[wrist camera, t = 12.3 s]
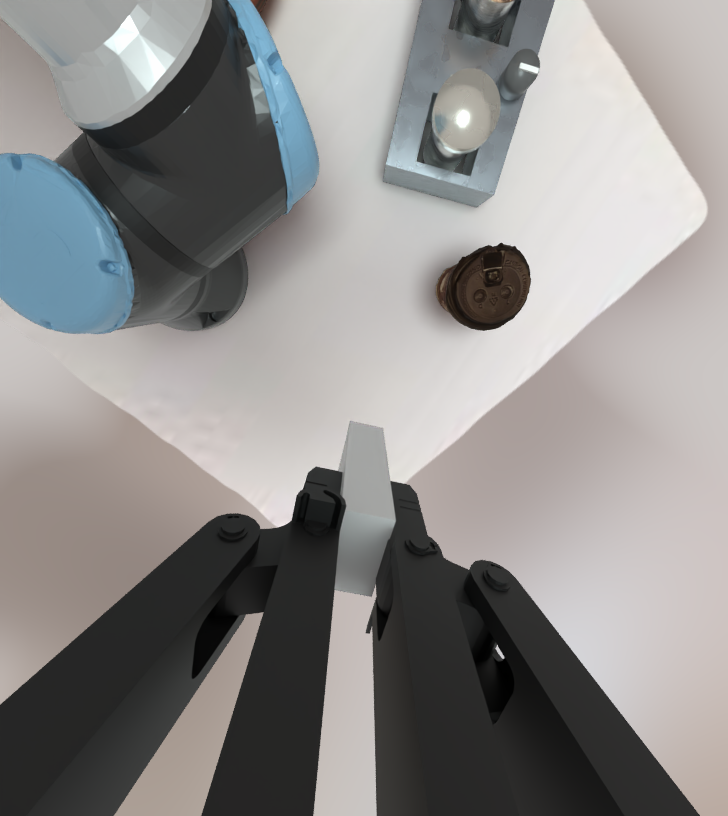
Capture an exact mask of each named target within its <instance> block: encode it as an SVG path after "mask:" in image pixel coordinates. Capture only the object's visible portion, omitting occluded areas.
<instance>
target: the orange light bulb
mask: <svg viewBox="0 0 728 816" xmlns="http://www.w3.org/2000/svg"><path fill="white" fill-rule="evenodd" d="M514 1H515V0H463V2H462V5H461V7H460V10H459V13H458V16H457V19H456V22H455V25H454V29H453V30H454V31H458V32H461V33H464V34H467V35H470V36H474V37H477V38H480V39H483V40H486V41H489V42H493V41H494V39H495V37H496V35H497V33H498V32H499V30H500V28H501V26H502V24H503V22H504V20H505V18H506V16H507V14H508V12H509V10H510V8H511V7H512V5H513V3H514Z"/></svg>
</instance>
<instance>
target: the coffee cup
mask: <svg viewBox="0 0 728 816" xmlns="http://www.w3.org/2000/svg"><path fill="white" fill-rule="evenodd" d="M530 284H531V278H530V269H529V265H528V264H527V262H526V259H525V258H524V256H523V255H522V253H521V252H520V251H519V250H517V248H516V247H515V246H513V247H512V246H510V245H504V244H503V243H500V244H499V245H498V246H494V247H492V246H490V245H488V246H485V247H482V248H479V249H478V250H476V251H474V252H473V253H471V254H470V255H468V256H466V257H462V258H461V260H460V261H459V263H458V264H456V265H454V266H452V267H450V268H447V269H446V270H444V272H443V274H442V275H441V277H440V278H439V279H438V283H437V285H436V296H437V298H438V300H439V302H440V304H441V306H442V307H443V308H444V309H445V310H446V311H448V312H449V313H451V315H452V316H453V317H454V318H455V319H456V320H457V321H458V322H459V323H461V324H463V325H465V326H467V327H469V328H471V329H476V330H483V331H485V330H492V329H496V328H499V327H501V326H502V325H504V324H505V323H507V322H508V321H510V320H511V319H513V318H514V317H515V316H516V315H517V313H518V312H519V311H520V310H521V308H522V307H523V305H524V304H525V302H526V299H527V295H528V293H529V288H530Z"/></svg>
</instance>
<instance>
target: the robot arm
mask: <svg viewBox="0 0 728 816" xmlns="http://www.w3.org/2000/svg"><path fill="white" fill-rule="evenodd" d="M0 18H1V19H2V20H3V21H5V22H6V23H7V24H8V25H9V26H10V27H11V28H12V29H13V30H14V31H15V32H16V33H17V34H18V35H19V36H20V37H21V38H22V39H23V40H24V41H25V42H26V43H27V44H29V45H30V46H31V47H32V48H33V49H34V50H35V51H36V52H37V53H38V54H39V55H40V56H41V57H42V58H43V59H44V60H45V61H46V62H47V64H48V66H49V68H50V70H51V72H52V76H53V79H54V82H55V86H56V89H57V92H58V95H59V99H60V103H61V106H62V109H63V111H64V113H65V114H66V115H67V116H68V117H69V118H70V119H71V120H72V121H73V122H74V124H76V125H77V126H78V127H79V128H80V129H81V130H83V131H84V133H82V134H81V135H80V136H79V137H78V138H77V139H76V140H75V141H74V142H73V143H72V144H71V145H70V146H69V147H68V148H67V149H66V150H65V151H64V152H63V153H62V154H61V155H60V156H59V157H58V158H57V159H56V160H54V161H52V160H50V159H48V158H45V157H43V156H40V155H36V154H30V153H29V154H14V153H4V154H0V298H1V299H2V300H3V301H4V302H5V303H6V304H8V305H9V306H10V307H11V308H12V309H14V310H15V311H16V312H18V313H19V314H20V315H22V316H23V317H25V318H27V319H28V320H30V321H32V322H34V323H36V324H38V325H40V326H43V327H45V328H47V329H52V330H55V331H60V332H64V333H72V334H86V333H91V334H105V333H109V332H112V331H114V330H119V329H125V328H130V327H136V326H142V325H148V324H154V323H162V324H164V325H166V326H169V327H172V328H175V329H179V330H186V331H198V330H204V329H208V328H212V327H215V326H218V325H220V324H222V323H224V322H225V321H227V320H228V319H230V318H231V317H232V316H233V315H234V314H235V313H236V311H237V310H238V309H239V307H240V306H241V304H242V302H243V300H244V297H245V294H246V290H247V284H248V269H247V263H246V259H245V255H244V253H243V250H242V248H241V247H242V246H243V245H245V244H246V243H247V242H248V241H250V240H251V239H252V238H254V237H255V236H256V235H257V234H259V233H260V232H261V231H262V230H264V229H265V228H266V227H267V226H269V225H270V224H271V223H272V222H274V221H275V220H276V219H277V218H279V217H280V216H281V215H282V214H283V215H286V214H288V213H289V211H290V210H291V209H292V206H293V205H294V204H295V203H296V202H297V201H298V200H299V199H301V198H302V197H303V196H304V195H305V194H306V193H307V192H308V191H310V190H311V189H312V188H313V186H314V185H315V183H316V180H317V176H318V174H319V158H318V152H317V148H316V144H315V141H314V137H313V134H312V131H311V128H310V125H309V122H308V119H307V117H306V114H305V111H304V109H303V106H302V104H301V101H300V99H299V96H298V94H297V91H296V89H295V87H294V84H293V82H292V80H291V78H290V75H289V73H288V72H287V70H286V69H285V68H284V66H283V65H282V60H281V58H280V55H279V53H278V51H277V48H276V46H275V43H274V41H273V39H272V37H271V35H270V33H269V31H268V29H267V27H266V25H265V23H264V21H263V20H262V18H261V16H260V14H259V13H258V11H257V9H256V8H255V6H254V5H253V3H252V2H251V1H250V0H0ZM375 585H376V594H377V597H376V600H375V603H374V606H373V609H372V612H371V615H370V619H369V622H368V625H367V629H366V633H370V630H371V627H372V632H373V674H374V717H375V757H376V758H375V759H376V801H377V802H376V803H377V816H700V815H699V814H698V813H697V812H696V810H695V809H694V807H693V806H692V805H691V804H690V802H689V801H688V800H687V798H686V797H685V796H684V795H683V793H682V792H681V791H680V789H679V788H678V787H677V785H676V784H675V783H674V782H673V780H672V779H671V778H670V776H669V775H668V774H667V773H666V771H665V770H664V769H663V767H662V766H661V765H660V764H659V762H658V761H657V760H656V758H655V757H654V756H653V755H652V753H651V752H650V751H649V749H648V748H647V747H646V746H645V744H644V743H643V742H642V740H641V739H640V738H639V737H638V735H637V734H636V733H635V731H634V730H633V729H632V727H631V726H630V725H629V724H628V722H627V721H626V720H625V718H624V717H623V716H622V715H621V714H620V712H619V711H618V709H617V708H616V707H615V706H614V704H613V703H612V702H611V700H610V699H609V698H608V696H607V695H606V694H605V693H604V691H603V690H602V689H601V688H600V686H599V685H598V684H597V682H596V681H595V680H594V678H593V677H592V676H591V675H590V673H589V672H588V671H587V669H586V668H585V667H584V666H583V664H582V663H581V662H580V660H579V659H578V658H577V656H576V655H575V654H574V653H573V651H572V650H571V649H570V648H569V646H568V645H567V644H566V642H565V641H564V640H563V638H562V637H561V636H560V635H559V633H558V632H557V631H556V629H555V628H554V627H553V626H552V624H551V623H550V622H549V620H548V619H547V618H546V617H545V615H544V614H543V613H542V611H541V610H540V609H539V607H538V606H537V605H536V604H535V602H534V601H533V600H532V598H531V597H530V596H529V595H528V594H527V592H526V591H525V590H524V589H523V587H522V586H521V584H520V583H519V582H518V581H517V579H516V578H515V577H514V576H513V575H512V574H511V573H510V572H509V571H508V570H506V569H504V568H503V567H502V566H500V565H498V564H496V563H493V562H491V561H485V560H480V561H475V562H474V563H473V564H472V565H471V567H470V569H469V570H468V569H465V568H463V567H461V566H459V565H457V564H454V563H452V562H450V561H448V560H446V559H445V558H444V557H443V555H442V552H441V549H440V547H439V546H438V544H437V543H436V542H435V541H434V540H433V539H432V538H431V537H429V536H428V535H427V531H426V527H425V524H424V520H423V516H422V512H421V508H420V505H419V501H418V497H417V494H416V493H415V491H414V490H413V489H412V488H411V486H410V485H407V484H402V483H397V482H392V481H390V475H389V468H388V461H387V454H386V447H385V440H384V433H383V428H380V427H376V426H371V425H366V424H362V423H357V422H353V421H350V424H349V428H348V432H347V436H346V441H345V445H344V449H343V453H342V457H341V461H340V466H339V470H338V471H335V470H330V469H325V468H320V467H315V468H314V469H312V470H311V471H310V472H308V475H307V478H306V482H305V485H304V488H303V490H301V491H300V492H299V493H298V495H297V497H296V502H295V507H294V512H293V517H292V521H290V522H289V523H288V524H286V525H284V526H281V527H278V528H272V529H260V526H259V524H258V523H257V522H256V521H255V520H254V519H252V518H251V517H249V516H246V515H241V514H225V515H221V516H218V517H216V518H214V519H212V520H211V521H209V522H208V523H207V524H206V525H204V526H203V527H202V528H201V529H200V530H199V531H198V532H196V533H195V535H193V536H192V537H191V538H190V539H188V540H187V541H186V542H185V543H184V544H183V545H182V546H181V547H179V548H178V549H177V550H176V551H175V552H174V553H173V554H171V555H170V556H169V557H168V558H167V559H166V560H165V561H164V562H162V563H161V564H160V565H159V566H158V567H157V568H156V569H154V570H153V571H152V572H151V573H150V574H149V575H148V576H146V577H145V578H144V579H143V580H142V581H141V582H140V583H138V584H137V585H136V586H135V587H134V588H133V589H132V590H130V591H129V592H128V593H127V594H126V595H125V596H124V597H123V598H121V599H120V600H119V601H118V602H117V603H116V604H114V605H113V606H112V607H111V608H110V609H109V610H108V611H106V612H105V613H104V614H103V615H102V616H101V617H100V618H99V619H97V620H96V621H95V622H94V623H93V624H92V625H91V626H90V627H88V628H87V629H86V630H85V631H84V632H83V633H82V634H80V635H79V636H78V637H77V638H76V639H75V640H74V641H72V642H71V643H70V644H69V645H68V646H67V647H66V648H64V649H63V650H62V651H61V652H60V653H59V654H58V655H56V657H54V658H53V659H52V660H51V661H50V662H49V663H47V664H46V665H45V666H44V667H43V668H42V669H40V670H39V671H38V672H37V673H36V674H35V675H34V676H32V677H31V678H30V679H29V680H28V681H27V682H26V683H25V684H23V685H22V686H21V687H20V688H19V689H18V690H17V691H15V692H14V693H13V694H12V695H11V696H10V697H9V698H8V699H6V700H5V701H4V702H3V703H2V704H1V705H0V816H114V814H115V813H116V811H117V810H118V808H119V807H120V805H121V804H122V802H123V801H124V799H125V798H126V796H127V795H128V793H129V792H130V790H131V789H132V787H133V786H134V784H135V783H136V781H137V780H138V778H139V777H140V775H141V774H142V772H143V771H144V769H145V768H146V766H147V765H148V763H149V762H150V760H151V759H152V757H153V756H154V754H155V753H156V751H157V750H158V748H159V747H160V745H161V744H162V742H163V740H164V739H165V738H166V736H167V735H168V733H169V731H170V730H171V729H172V727H173V726H174V724H175V722H176V721H177V719H178V718H179V716H180V715H181V713H182V712H183V710H184V709H185V707H186V706H187V704H188V703H189V701H190V700H191V698H192V697H193V695H194V694H195V692H196V691H197V689H198V688H199V686H200V685H201V683H202V682H203V680H204V679H205V677H206V676H207V674H208V673H209V671H210V670H211V668H212V667H213V665H214V664H215V662H216V661H217V659H218V658H219V656H220V655H221V653H222V652H223V650H224V648H225V647H226V646H227V644H228V643H229V641H230V640H231V638H232V636H233V635H234V634H235V632H236V630H237V629H238V628H239V626H240V624H241V623H242V621H243V620H244V618H245V615H246V614H253V613H260V612H264V613H263V617H262V620H261V623H260V626H259V630H258V633H257V636H256V639H255V643H254V646H253V649H252V652H251V656H250V659H249V662H248V665H247V669H246V672H245V675H244V678H243V682H242V685H241V688H240V692H239V695H238V698H237V701H236V705H235V708H234V711H233V715H232V718H231V721H230V724H229V728H228V731H227V734H226V737H225V740H224V744H223V747H222V750H221V754H220V757H219V760H218V763H217V766H216V770H215V773H214V776H213V780H212V783H211V786H210V789H209V793H208V796H207V799H206V802H205V806H204V809H203V813H202V816H313V811H314V801H315V791H316V781H317V770H318V759H319V748H320V737H321V727H322V716H323V706H324V695H325V685H326V674H327V663H328V652H329V642H330V631H331V620H332V610H333V600H334V590H338V591H343V592H349V593H354V594H360V595H366V596H372V594H373V591H374V588H375ZM497 645H498V647H499V648H500V650H501V652H502V653H503V655H504V657H505V658H504V659H502V658H501V657H500V655H499V654H498V653H497V651H496V649H495V648H496V646H497Z"/></svg>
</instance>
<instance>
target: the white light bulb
mask: <svg viewBox="0 0 728 816" xmlns="http://www.w3.org/2000/svg"><path fill="white" fill-rule="evenodd" d="M500 106H501V103H500V95H499V91H498V88H497V86H496V84H495V82H494V81H493V79H492V78H491V77H490V76H489V75H488V74H486V73H485V72H483V71H481V70H479V69H474V68H467V69H463V70H460V71H457V72H456V73H454V74H452V75H451V76H450V77H449V78H448V79H447V80H446V81H445V82H444V84H443V85H442V87H441V88H440V90H439V92H438V95H437V97H436V100H435V103H434V106H433V111H432V130H431V132H430V135H429V137H428V139H427V142H426V144H425V147H424V151H423V158H424V162H425V164H427V165H431V166H434V167H438V168H442V169H445V170H449V171H453V170H454V169H455V168H456V167H457V165H458V164H459V163H460V161H461V160H462V159H463V157H464V156H465V155H466V153H470V152H472V151H474V150H476V149H478V148H479V147H480V146H481V145H482V144H483V143H484V142H485V141H486V140H487V139H488V137H489V136H490V135H491V133H492V132H493V130H494V129H495V127H496V125H497V122H498V119H499V115H500Z"/></svg>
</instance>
